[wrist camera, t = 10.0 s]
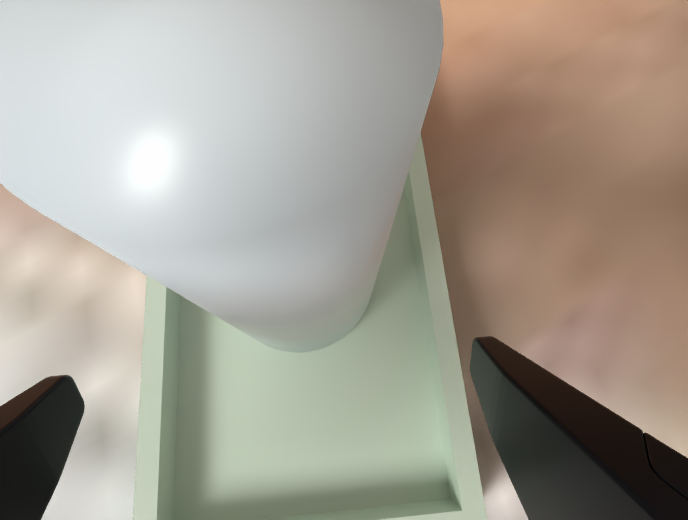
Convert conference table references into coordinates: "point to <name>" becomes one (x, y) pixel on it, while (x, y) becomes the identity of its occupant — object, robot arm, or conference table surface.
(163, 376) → the tray
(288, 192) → the white rounded capsule
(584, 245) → the conference table surface
